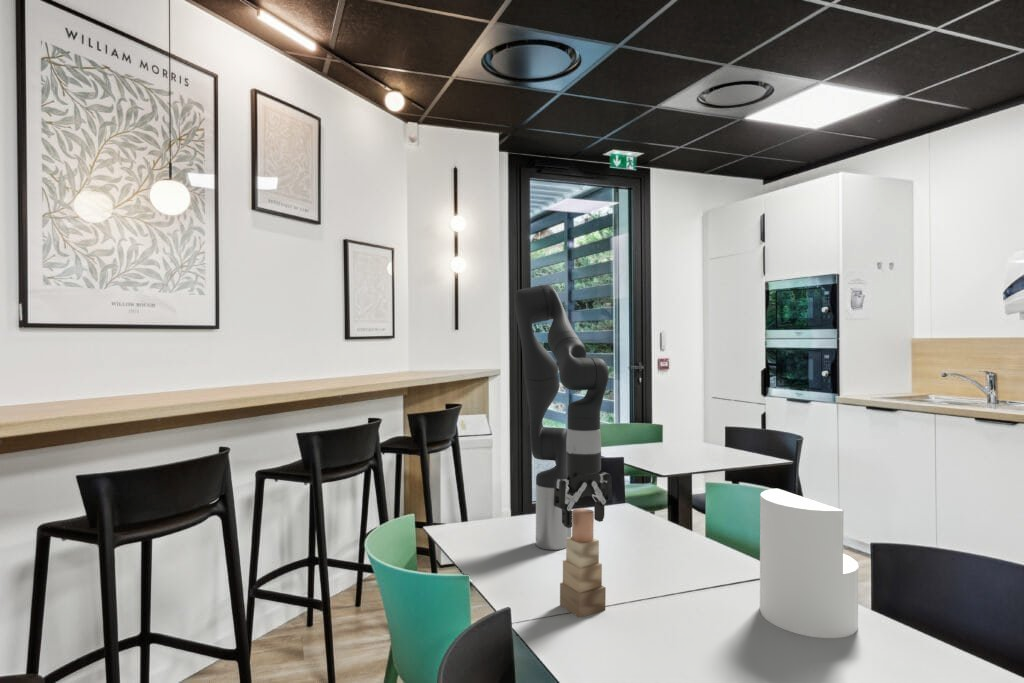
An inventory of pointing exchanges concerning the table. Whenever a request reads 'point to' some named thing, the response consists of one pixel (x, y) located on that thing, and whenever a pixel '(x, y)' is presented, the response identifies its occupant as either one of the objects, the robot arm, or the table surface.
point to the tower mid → (582, 576)
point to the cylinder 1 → (582, 525)
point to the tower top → (582, 552)
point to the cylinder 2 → (806, 567)
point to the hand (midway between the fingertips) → (583, 523)
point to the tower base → (582, 600)
